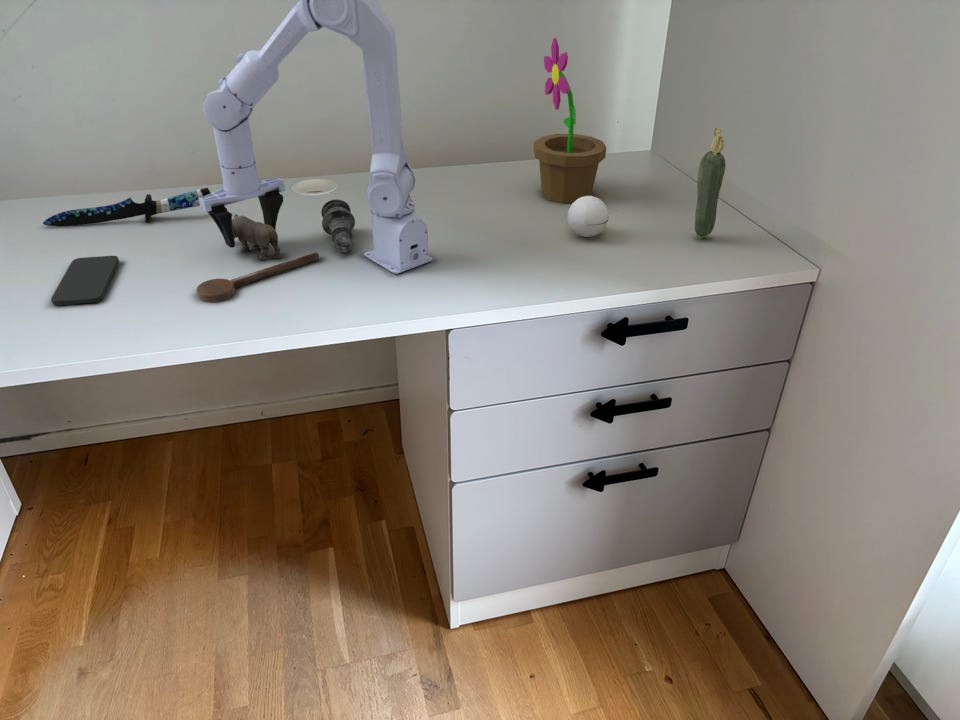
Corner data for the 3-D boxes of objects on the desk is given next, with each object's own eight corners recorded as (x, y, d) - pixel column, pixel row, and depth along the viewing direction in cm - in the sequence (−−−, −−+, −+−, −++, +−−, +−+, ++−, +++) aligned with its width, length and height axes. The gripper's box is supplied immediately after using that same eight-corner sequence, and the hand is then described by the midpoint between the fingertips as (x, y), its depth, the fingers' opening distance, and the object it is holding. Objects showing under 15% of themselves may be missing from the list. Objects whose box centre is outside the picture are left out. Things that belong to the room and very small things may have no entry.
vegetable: (712, 245, 137) (733, 134, 126) (687, 243, 138) (706, 132, 126) (710, 235, 140) (731, 126, 129) (686, 233, 141) (705, 124, 130)
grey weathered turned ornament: (334, 230, 142) (343, 271, 134) (312, 211, 138) (320, 251, 130) (358, 212, 141) (369, 252, 133) (337, 192, 136) (347, 232, 128)
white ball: (574, 246, 136) (577, 207, 132) (560, 229, 142) (563, 191, 138) (626, 240, 138) (631, 201, 134) (610, 224, 144) (614, 186, 140)
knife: (216, 207, 147) (209, 184, 144) (214, 213, 144) (206, 190, 142) (53, 231, 145) (43, 209, 142) (48, 237, 142) (38, 215, 140)
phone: (48, 302, 116) (73, 258, 129) (50, 306, 117) (74, 262, 129) (100, 298, 118) (119, 254, 130) (101, 302, 118) (121, 259, 130)
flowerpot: (521, 185, 161) (527, 32, 144) (584, 178, 165) (597, 28, 148) (546, 210, 150) (556, 48, 133) (613, 203, 153) (630, 43, 137)
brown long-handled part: (310, 253, 133) (309, 246, 132) (327, 264, 129) (327, 257, 129) (191, 292, 121) (190, 284, 120) (207, 305, 118) (205, 297, 117)
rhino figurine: (235, 235, 139) (230, 204, 136) (287, 256, 132) (282, 223, 129) (217, 243, 136) (210, 211, 133) (268, 264, 129) (263, 231, 126)
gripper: (265, 147, 132) (276, 221, 140) (185, 166, 124) (201, 243, 132) (286, 158, 128) (296, 233, 135) (204, 178, 120) (219, 257, 127)
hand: (251, 239), depth 133 cm, fingers open, 7 cm apart
